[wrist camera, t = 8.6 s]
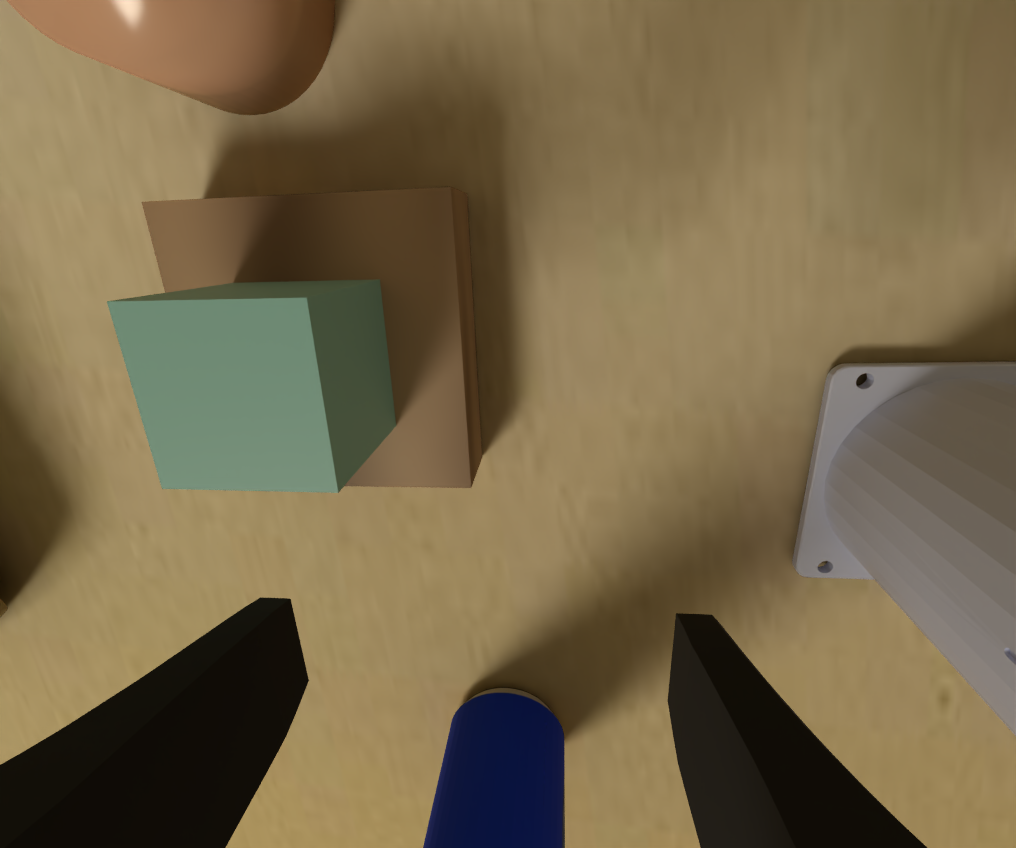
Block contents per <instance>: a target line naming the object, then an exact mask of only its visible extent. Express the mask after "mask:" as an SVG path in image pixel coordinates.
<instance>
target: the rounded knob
mask: <svg viewBox="0 0 1016 848" xmlns="http://www.w3.org/2000/svg"><path fill="white" fill-rule="evenodd" d="M7 1H8V2H9V3H10V4H11V6H12V7H13V8H14V9H15V10H16V11H17V12H18V13H19V14H20V15H21V16H22V17H23V18H24V19H26V20H27V21H28V22H29V23H30V24H32V25H33V26H34V27H35V28H36V29H38V30H39V31H40V32H41V33H43V34H44V35H46V36H47V37H49V38H50V39H52V40H53V41H55V42H56V43H58V44H60V45H62V46H64V47H66V48H68V49H70V50H72V51H74V52H76V53H79V54H81V55H84V56H86V57H89V58H91V59H94V60H96V61H99V62H102V63H104V64H107V65H109V66H112V67H114V68H117V69H119V70H122V71H124V72H127V73H129V74H132V75H134V76H137V77H139V78H142V79H144V80H147V81H149V82H152V83H154V84H157V85H159V86H162V87H165V88H167V89H170V90H172V91H175V92H177V93H180V94H182V95H185V96H187V97H190V98H192V99H195V100H197V101H200V102H202V103H205V104H207V105H210V106H212V107H215V108H218V109H221V110H223V111H226V112H230V113H235V114H240V115H258V114H266V113H269V112H273V111H276V110H278V109H281V108H283V107H285V106H287V105H289V104H290V103H292V102H293V101H294V100H296V99H297V98H299V97H300V96H301V95H302V94H303V93H304V92H305V91H306V90H307V89H308V88H309V86H310V85H311V84H312V83H313V81H314V80H315V79H316V77H317V75H318V74H319V72H320V70H321V68H322V67H323V64H324V62H325V59H326V57H327V54H328V51H329V48H330V44H331V40H332V35H333V28H334V18H335V0H7Z"/></svg>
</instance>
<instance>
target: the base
mask: <svg viewBox="0 0 1016 848" xmlns="http://www.w3.org/2000/svg"><path fill="white" fill-rule="evenodd" d="M142 205H143V209H144V213H145V216H146V220H147V224H148V228H149V232H150V236H151V239H152V243H153V247H154V251H155V255H156V259H157V262H158V266H159V270H160V274H161V278H162V282H163V286H164V289H165V293H168V292H174V291H181V290H188V289H195V288H201V287H208V286H215V285H222V284H228V283H245V282H289V281H333V280H376V279H380V286H381V294H382V303H383V312H384V321H385V330H386V339H387V348H388V357H389V366H390V375H391V384H392V392H393V401H394V410H395V419H396V427H395V428H394V429H393V430H392V431H391V432H390V434H389V435H388V436H387V437H386V438H385V439H384V441H383V442H382V443H381V444H380V445H379V446H378V447H377V449H376V450H375V451H374V452H373V453H372V454H371V455H370V457H369V458H368V459H367V460H366V461H365V462H364V464H363V465H362V466H361V467H360V468H359V469H358V470H357V472H356V473H355V474H354V475H353V476H352V477H351V479H350V480H349V481H348V482H347V483H346V484H345V485H344V486H376V487H442V488H471V487H472V484H473V481H474V478H475V476H476V473H477V470H478V467H479V465H480V462H481V459H482V443H481V426H480V408H479V391H478V374H477V357H476V339H475V322H474V305H473V287H472V270H471V253H470V235H469V218H468V201H467V193H464V192H462V191H460V190H457V189H455V188H452V187H437V188H416V189H396V190H375V191H355V192H334V193H313V194H293V195H272V196H252V197H231V198H211V199H190V200H170V201H149V202H142Z"/></svg>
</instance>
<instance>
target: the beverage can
mask: <svg viewBox="0 0 1016 848" xmlns="http://www.w3.org/2000/svg"><path fill="white" fill-rule="evenodd" d="M423 848H565V817H564V733H563V729H562V726H561V724H560V723H559V721H558V719H557V718H556V717H555V715H554V714H553V713H552V711H551V710H550V709H549V708H548V706H547V705H545V704H544V703H543V702H542V701H541V700H540V699H538V698H537V697H535V696H533V695H531V694H529V693H527V692H524V691H521V690H517V689H512V688H495V689H490V690H486V691H483V692H481V693H478V694H477V695H475V696H473V697H472V698H471V699H469V700H468V701H467V702H465V703H464V704H463V705H462V706H461V707H460V708H459V709H458V710H457V712H456V713H455V715H454V717H453V719H452V723H451V728H450V732H449V736H448V741H447V745H446V750H445V754H444V758H443V763H442V767H441V772H440V776H439V780H438V785H437V789H436V794H435V798H434V802H433V807H432V811H431V816H430V820H429V824H428V829H427V833H426V838H425V842H424V846H423Z"/></svg>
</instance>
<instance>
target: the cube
mask: <svg viewBox="0 0 1016 848" xmlns="http://www.w3.org/2000/svg"><path fill="white" fill-rule="evenodd" d="M107 303H108V307H109V310H110V314H111V317H112V320H113V324H114V327H115V331H116V334H117V337H118V341H119V344H120V347H121V351H122V354H123V358H124V361H125V364H126V368H127V371H128V375H129V378H130V381H131V385H132V388H133V392H134V395H135V398H136V402H137V405H138V408H139V412H140V415H141V419H142V422H143V425H144V429H145V432H146V436H147V439H148V442H149V446H150V449H151V452H152V456H153V459H154V463H155V466H156V469H157V473H158V476H159V480H160V483H161V486H162V489H196V490H241V491H286V492H331V493H338V492H339V491H340V490H341V489H342V488H343V487H344V485H345V484H346V483H347V482H348V481H349V480H350V479H351V477H352V476H353V475H354V474H355V473H356V472H357V470H358V469H359V468H360V467H361V466H362V465H363V464H364V462H365V461H366V460H367V459H368V458H369V457H370V455H371V454H372V453H373V452H374V451H375V450H376V449H377V447H378V446H379V445H380V444H381V443H382V442H383V441H384V439H385V438H386V437H387V436H388V435H389V434H390V432H391V431H392V430H393V429H394V428H395V427H396V419H395V410H394V401H393V392H392V384H391V375H390V366H389V357H388V348H387V339H386V330H385V321H384V312H383V303H382V294H381V286H380V279H376V280H333V281H289V282H245V283H228V284H222V285H215V286H208V287H201V288H195V289H188V290H181V291H174V292H168V293H161V294H154V295H148V296H141V297H134V298H127V299H121V300H114V301H107Z"/></svg>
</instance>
